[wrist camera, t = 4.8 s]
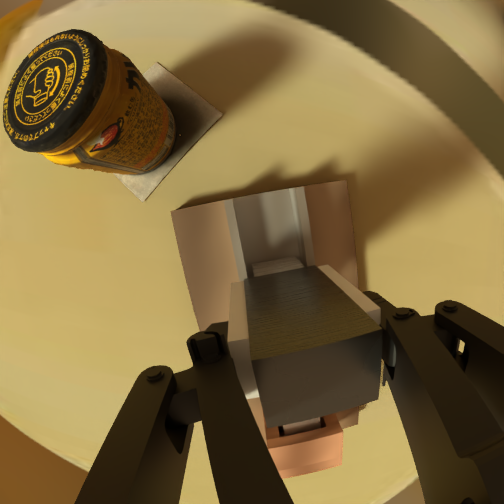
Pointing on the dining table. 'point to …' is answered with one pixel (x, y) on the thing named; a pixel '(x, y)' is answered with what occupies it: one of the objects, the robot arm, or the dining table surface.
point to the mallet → (308, 345)
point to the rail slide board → (240, 267)
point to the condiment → (103, 111)
